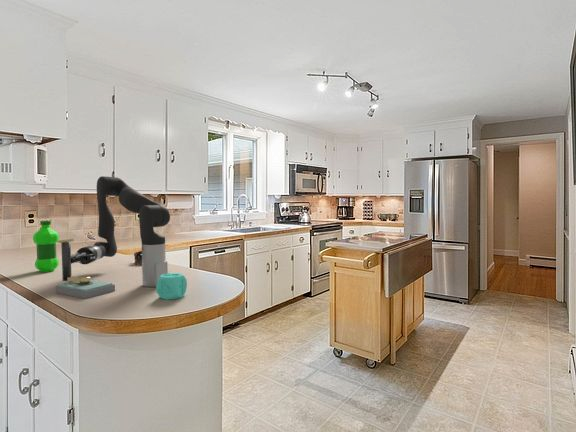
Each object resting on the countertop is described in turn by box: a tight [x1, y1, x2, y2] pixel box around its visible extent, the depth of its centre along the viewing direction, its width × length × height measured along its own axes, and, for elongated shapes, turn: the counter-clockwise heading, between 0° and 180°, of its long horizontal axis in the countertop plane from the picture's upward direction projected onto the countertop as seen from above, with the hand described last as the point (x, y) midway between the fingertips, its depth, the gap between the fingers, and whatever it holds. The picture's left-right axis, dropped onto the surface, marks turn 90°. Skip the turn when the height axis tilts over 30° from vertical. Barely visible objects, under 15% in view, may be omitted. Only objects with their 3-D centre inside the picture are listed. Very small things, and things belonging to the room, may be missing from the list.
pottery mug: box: [133, 250, 142, 266], centre depth 192 cm, size 12×10×8 cm
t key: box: [57, 238, 92, 284], centre depth 134 cm, size 12×6×16 cm, turn 74°
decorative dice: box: [155, 272, 188, 301], centre depth 127 cm, size 8×8×8 cm
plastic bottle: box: [32, 220, 60, 273], centre depth 172 cm, size 10×10×25 cm
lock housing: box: [55, 279, 116, 299], centre depth 133 cm, size 18×12×3 cm, turn 63°
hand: (68, 261), depth 138 cm, fingers closed
